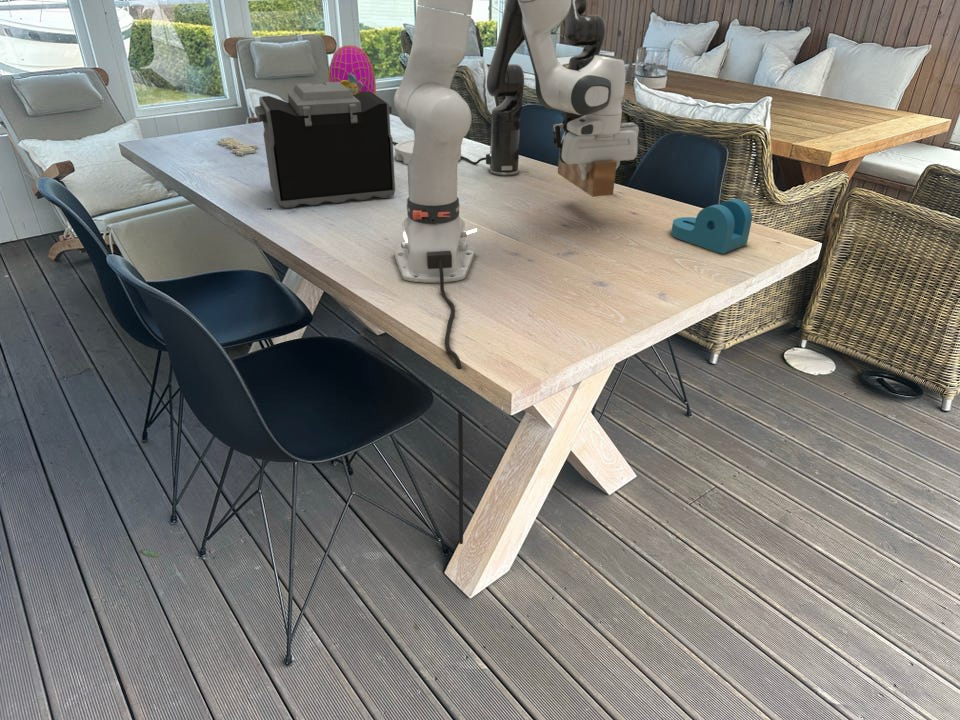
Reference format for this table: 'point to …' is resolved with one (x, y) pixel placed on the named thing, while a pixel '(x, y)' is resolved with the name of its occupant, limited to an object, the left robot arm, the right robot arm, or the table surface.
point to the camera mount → (716, 226)
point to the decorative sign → (237, 146)
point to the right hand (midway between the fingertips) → (574, 161)
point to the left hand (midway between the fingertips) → (597, 178)
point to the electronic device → (327, 145)
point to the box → (591, 176)
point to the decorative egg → (352, 67)
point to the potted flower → (352, 84)
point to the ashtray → (407, 151)
